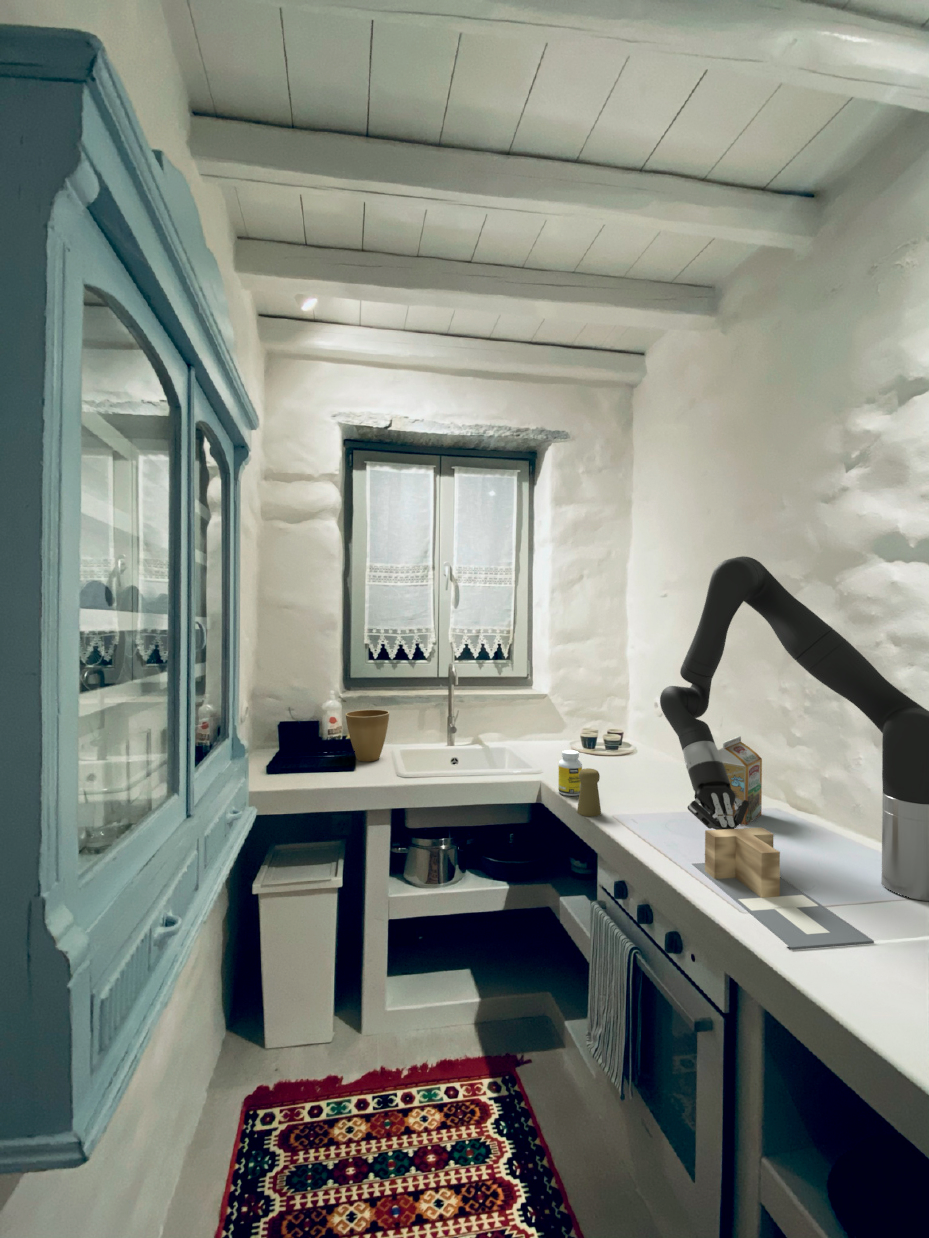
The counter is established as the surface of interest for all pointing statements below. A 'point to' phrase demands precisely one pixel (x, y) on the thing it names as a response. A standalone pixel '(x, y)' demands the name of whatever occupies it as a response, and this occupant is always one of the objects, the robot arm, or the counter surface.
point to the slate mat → (792, 915)
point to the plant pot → (367, 732)
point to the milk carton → (744, 775)
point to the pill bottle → (569, 773)
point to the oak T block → (744, 858)
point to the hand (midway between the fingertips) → (732, 848)
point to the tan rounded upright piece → (589, 793)
